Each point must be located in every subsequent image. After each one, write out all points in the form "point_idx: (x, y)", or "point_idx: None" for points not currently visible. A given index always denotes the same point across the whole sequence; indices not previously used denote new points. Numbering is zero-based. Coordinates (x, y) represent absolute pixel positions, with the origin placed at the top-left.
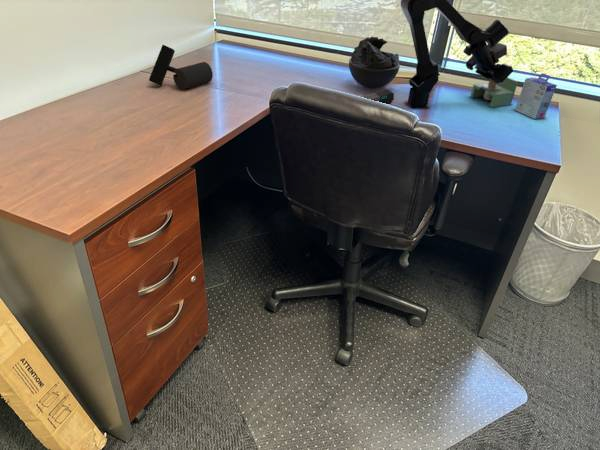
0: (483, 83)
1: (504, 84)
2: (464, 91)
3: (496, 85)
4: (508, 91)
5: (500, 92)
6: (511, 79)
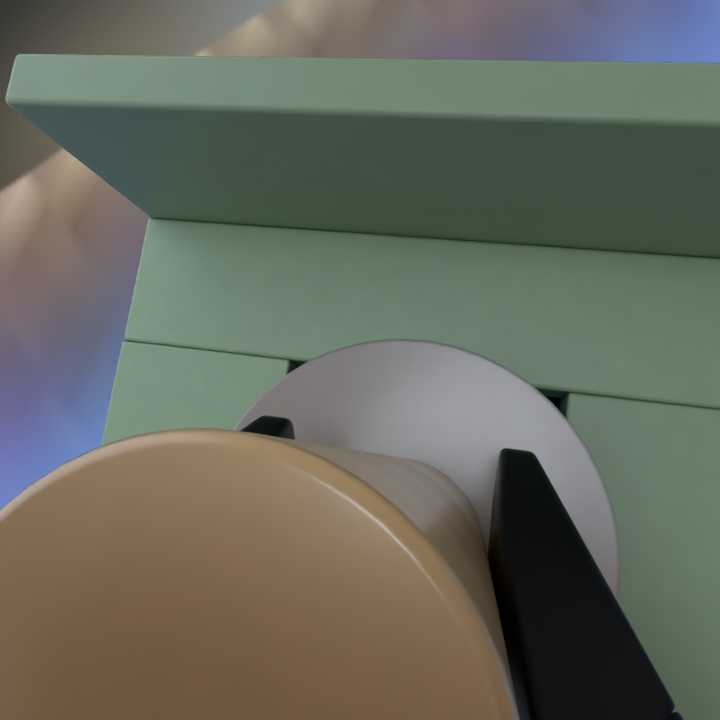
0: (120, 419)
1: (489, 209)
2: (6, 496)
3: (395, 371)
4: (712, 325)
5: (698, 577)
6: (712, 110)
